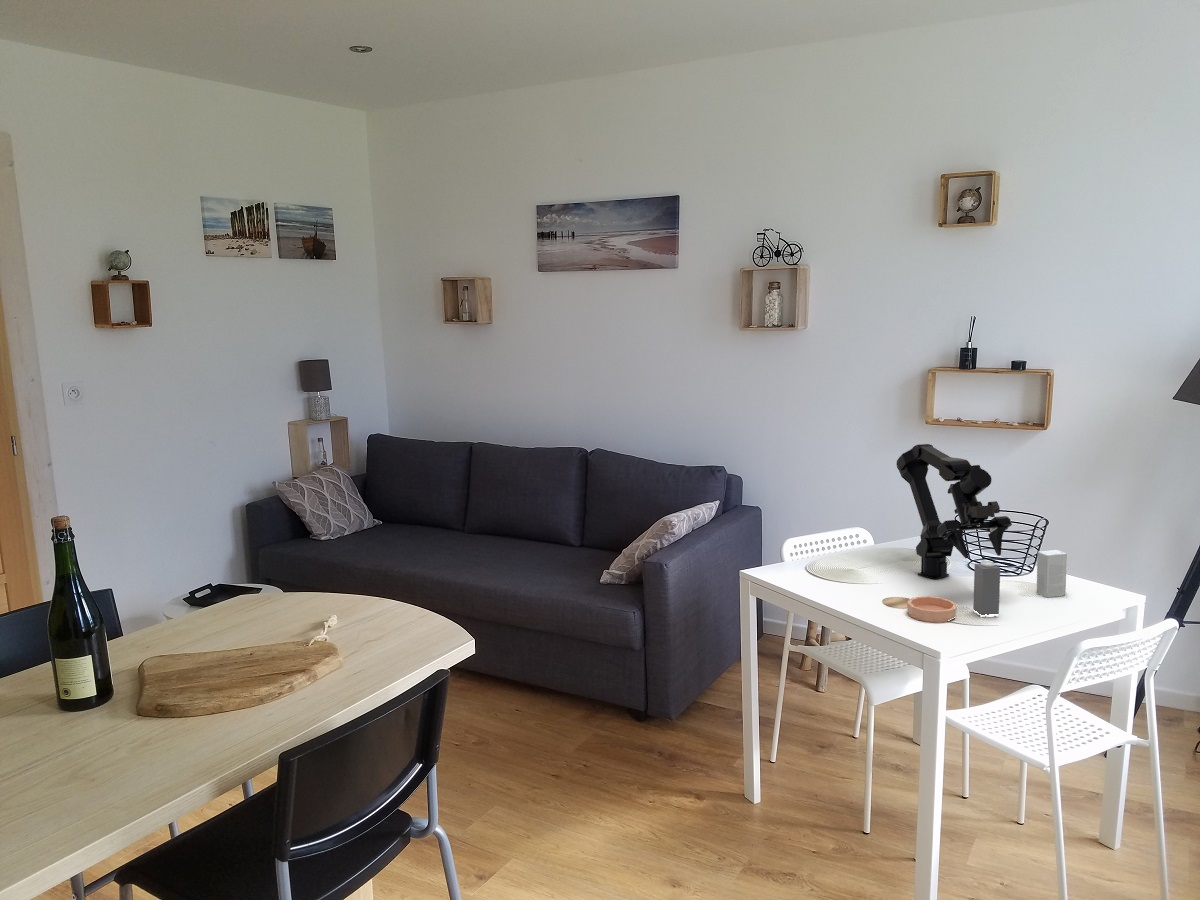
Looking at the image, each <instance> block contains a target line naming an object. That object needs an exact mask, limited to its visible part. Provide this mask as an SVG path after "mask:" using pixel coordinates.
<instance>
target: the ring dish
mask: <svg viewBox="0 0 1200 900" xmlns="http://www.w3.org/2000/svg"><path fill="white" fill-rule="evenodd" d="M957 607H958V605H957V603H955V602H954V601H952V600H949V599H946V598H943V597H937V596H930V595H929V596H915V597H912V598H909V601H908V603H907V609H906V610H907V615H908V616H909V617H910V618H912V619H915V620H916V621H917V620H918V621H920V622H924V623H925V622H926V623H932V624H933V623H936V624H939V623H940V624H941V623H943V624H944V623H948V622H947V621H948V620H950V619H952V618H954V617H955V616H956V617H957V611H958V610H957Z"/></svg>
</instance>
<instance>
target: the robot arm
mask: <svg viewBox="0 0 1200 900" xmlns="http://www.w3.org/2000/svg"><path fill="white" fill-rule="evenodd" d="M929 465H930V466H931V467H933V468H935V469H936V470H938V475H939V476H940V477H941V478H942V479H943V481H944V482H955V481H956V482H955V483H951V484H950V485H949V487H948V489H947V494H948V495H949V494H951V496H952V499H953V501H954V505H955V509H954V514H955V515H956V514H957V516H958V518H959V520H958V519H951V520H944V521H943V522H941V521H940V518H939V515H938V512H937V510H936V506H935V503H934V499H933V497H932V494H931V490H930V487H929V484H928V482H927V475H928V472H929ZM896 468H897V470H898V471H899V473H900V476H901V478H902V479H903V480H905V481H906V482H907V483H908V484H909V486H910V489H911V493H912V496H913V500H914V502H915V505H916V508H917V511H918V515H919V518H920V521H921V525H922V529H921V532H920V536H919V537H920V540H919V542H918V543H917V545H916V547H915V553H916V555H917V556H919V557H920V559H921V560H920V561H921V562H920V566H921V567H920V571H919V572H917V576H921V577H924V578H927V579H932V580H940V579H942V578H947V577H949V576H950V573H948V562H947V557H952V553H953V549H954V548H956V550H957V551H958V552H959V553H960V554H961V555H962V557H964V558H965V559H968V558H969V552H968V549H967V546H966V542H965V540H964V532H965V531H977V530H978V531H979V530H987V532H989V533H988V534H987V536H988V538H989V540H990V543H991V545H992V547H993V550H994V552H995V553H996V556H997V557H998V556H1001V555H1002V544H1003V543H1002V542H1003V541H1002V540H1003V535H1004V533H1005V531H1007V530H1008V529H1009V528H1010V527H1011V526H1013V523H1012V520H1011V518H1010V517H1009V516H1007V515H1004V516H995V515H996V514H999V513H1000V512H1001V510H1000V509H1001V508H1000V505H999V503H998V501H996V500H995V501H988V502H987V505H983V502H981V501H980V500H979V501H978V498H977V496H978V495H980V494H981V493H982V492H983V491H984V490H986V489H987V488H988V487H990V485H991V484H992V481H993V479H992V476H991V475H990V474H989V472H988V471H987V470H985V469H983V468H981V465H980V464H974V465H972V464H971V463H970V461H969V460H967V459H964V458H961V457H960V458H959V457H951V456H950V455H948V454H945V453H944V452H942V451H941V450H939V449H937V448H936V447H934V446H933V445H932V444H930V443H921V444H920V443H919V444H916V445H913V446H912V448H910V449H909V450H907V451H905V452H903V453H902V454H901V455H900V456H899V457H898V458H897V460H896ZM989 517H990V518H992V519H990V520H989V521H987V520H988V519H989Z"/></svg>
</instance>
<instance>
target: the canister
mask: <svg viewBox="0 0 1200 900" xmlns="http://www.w3.org/2000/svg"><path fill="white" fill-rule="evenodd" d="M973 575H974V577H973V580H974V581H973V607H972V608H973V609H974V610H975V611H977V612H978V613H979V614H981V615H985V614H987V615H989V614H999V615H1000V587H1001V585H1000V584H1001V567H1000V566H999V565H998V566H997V565H996V564H995V562H994V561H990V560H982V561H980V563H974V574H973ZM973 609H972V610H973Z"/></svg>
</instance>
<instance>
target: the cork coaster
mask: <svg viewBox="0 0 1200 900" xmlns="http://www.w3.org/2000/svg"><path fill="white" fill-rule="evenodd" d="M909 599H910V598H908V597H903V596H891V597H885V598H883V599H882V601H881V603H882V604H883V605H884V606H886V607H889V608H891V609H892V608H893V609H900V610H901V609H903V610H905V609H906V610H907V603H908V601H909Z"/></svg>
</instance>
